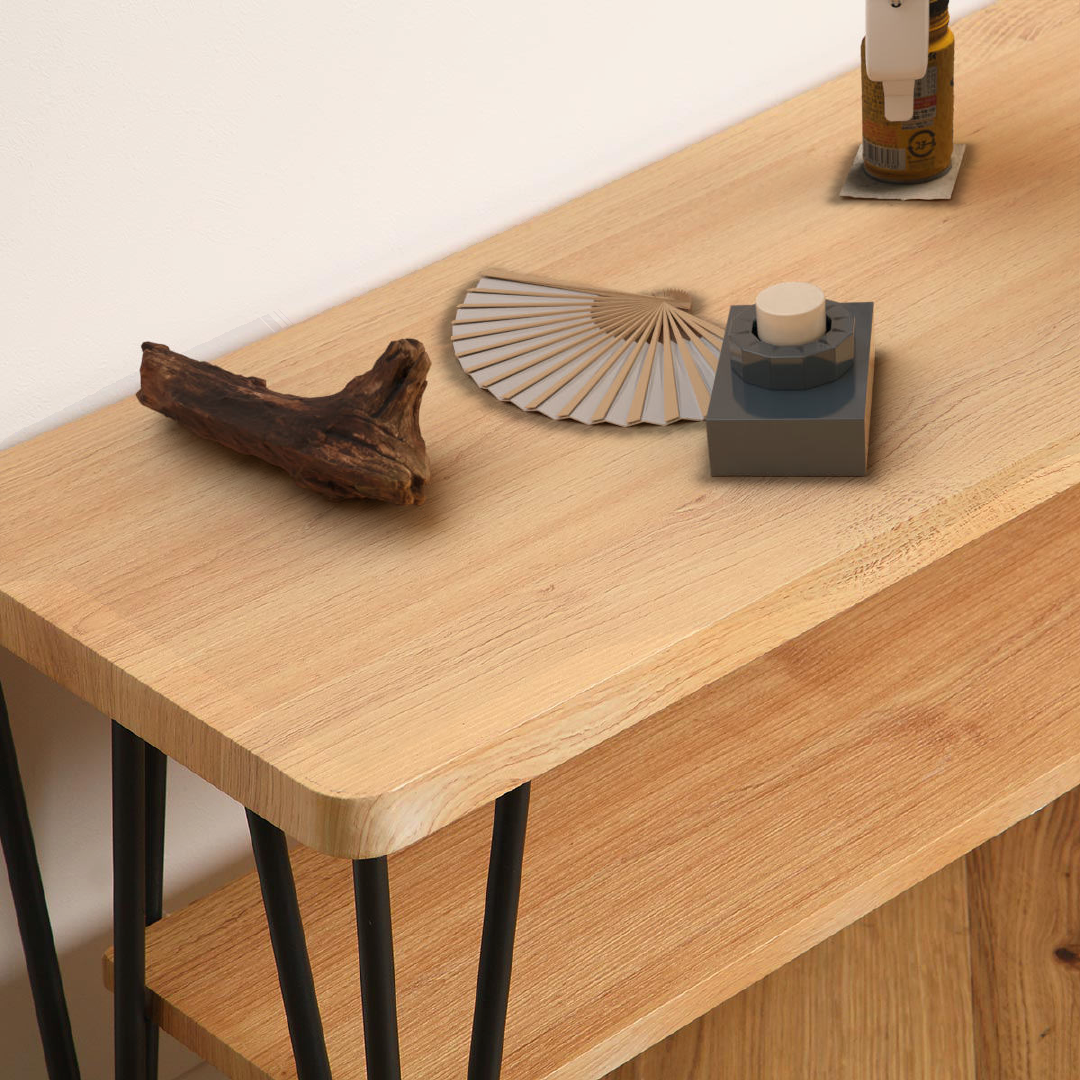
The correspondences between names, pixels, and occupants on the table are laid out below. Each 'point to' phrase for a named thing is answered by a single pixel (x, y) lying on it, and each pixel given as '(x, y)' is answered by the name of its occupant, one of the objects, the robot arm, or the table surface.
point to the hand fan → (586, 350)
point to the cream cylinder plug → (791, 314)
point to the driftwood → (307, 421)
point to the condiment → (911, 129)
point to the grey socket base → (793, 398)
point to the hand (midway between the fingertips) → (900, 94)
